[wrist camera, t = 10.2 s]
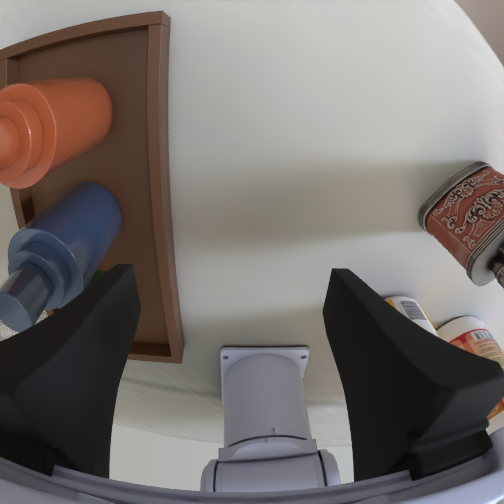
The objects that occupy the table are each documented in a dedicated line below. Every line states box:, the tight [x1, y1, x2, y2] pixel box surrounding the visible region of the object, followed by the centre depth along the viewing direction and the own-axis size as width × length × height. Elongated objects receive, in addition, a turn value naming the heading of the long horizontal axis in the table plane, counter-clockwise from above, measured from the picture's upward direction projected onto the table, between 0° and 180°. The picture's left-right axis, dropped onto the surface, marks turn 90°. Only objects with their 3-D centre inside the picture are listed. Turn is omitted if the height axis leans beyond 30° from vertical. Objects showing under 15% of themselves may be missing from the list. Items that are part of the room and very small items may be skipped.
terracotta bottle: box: [0, 77, 113, 189], centre depth 12 cm, size 5×5×10 cm
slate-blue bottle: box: [0, 182, 123, 333], centre depth 16 cm, size 5×5×10 cm
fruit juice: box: [437, 316, 504, 504], centre depth 18 cm, size 9×9×28 cm
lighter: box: [418, 161, 504, 288], centre depth 17 cm, size 8×3×10 cm, turn 130°
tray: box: [0, 11, 184, 363], centre depth 20 cm, size 26×12×2 cm, turn 177°
